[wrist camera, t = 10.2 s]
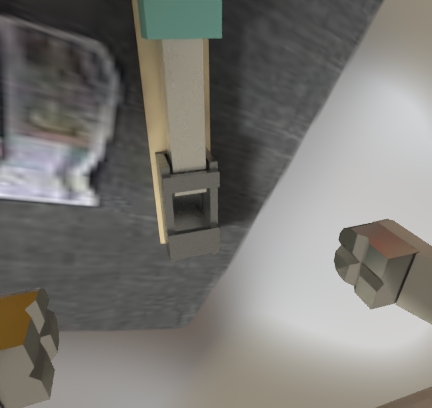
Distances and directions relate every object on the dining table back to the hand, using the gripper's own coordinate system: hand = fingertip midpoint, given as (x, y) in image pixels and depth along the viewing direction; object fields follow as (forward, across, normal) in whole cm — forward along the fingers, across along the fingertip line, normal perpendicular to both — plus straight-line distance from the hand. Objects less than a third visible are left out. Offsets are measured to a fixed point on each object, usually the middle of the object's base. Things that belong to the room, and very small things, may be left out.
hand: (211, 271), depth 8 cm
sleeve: (+33, -5, +15) cm, 37 cm away
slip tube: (+31, -5, +2) cm, 32 cm away
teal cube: (+33, -5, -8) cm, 34 cm away
